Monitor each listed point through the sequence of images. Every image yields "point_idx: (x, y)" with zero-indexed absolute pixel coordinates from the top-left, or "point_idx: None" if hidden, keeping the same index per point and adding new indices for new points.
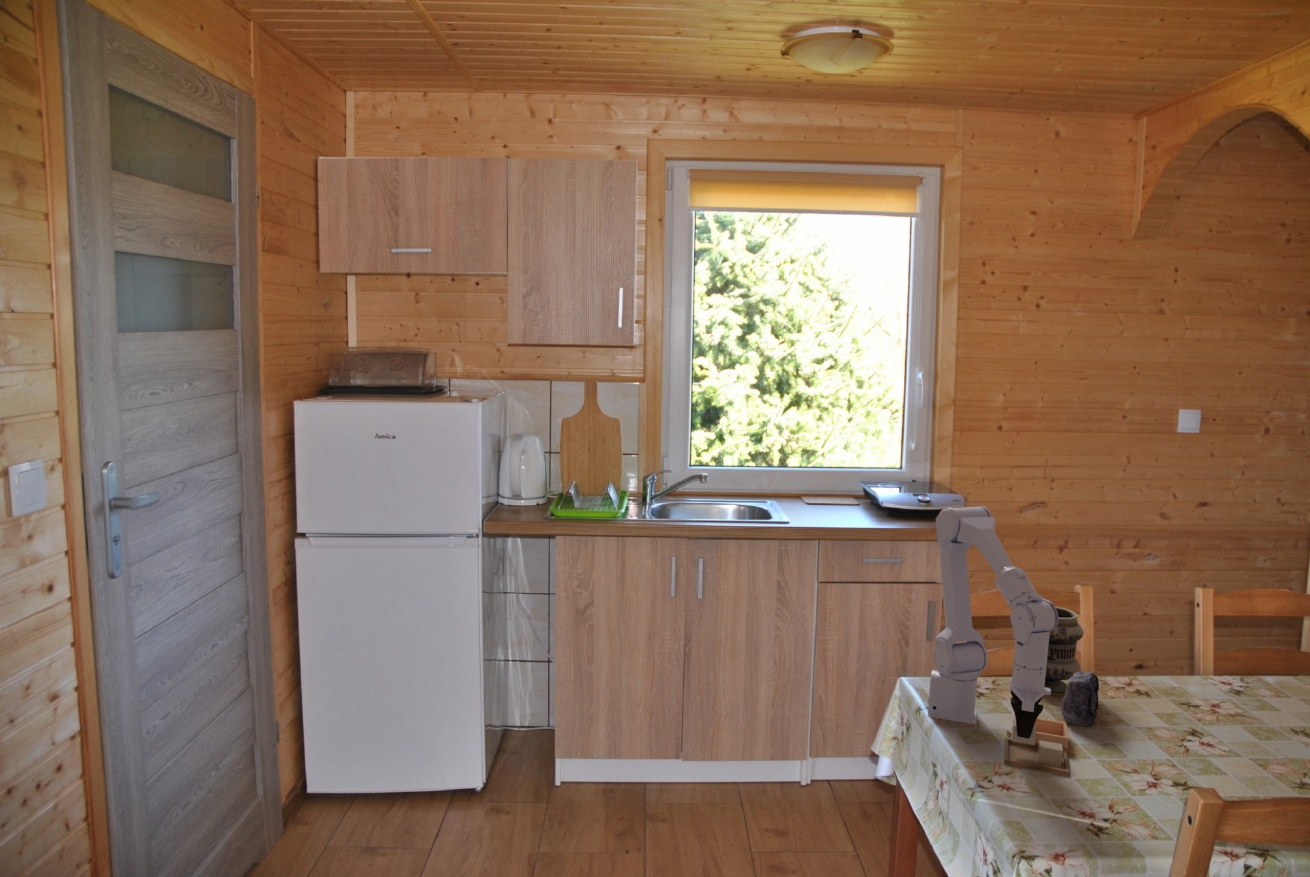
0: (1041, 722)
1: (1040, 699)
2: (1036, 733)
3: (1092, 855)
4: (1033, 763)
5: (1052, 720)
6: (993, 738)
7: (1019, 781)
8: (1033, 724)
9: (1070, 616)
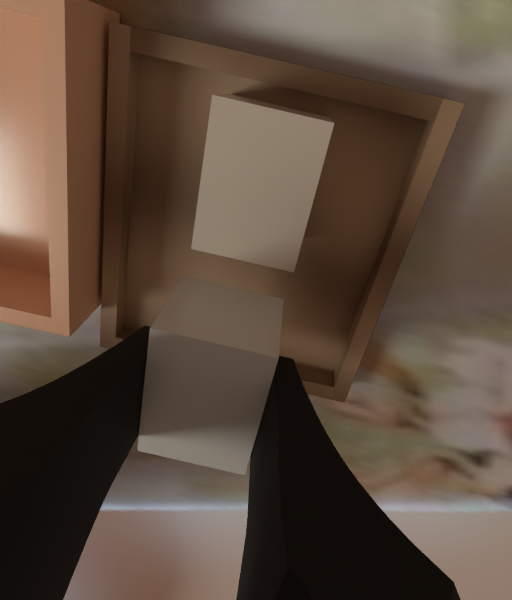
0: None
1: (2, 502)
2: (70, 226)
3: None
4: (316, 266)
5: None
6: (75, 359)
7: (485, 361)
8: (328, 438)
9: None
